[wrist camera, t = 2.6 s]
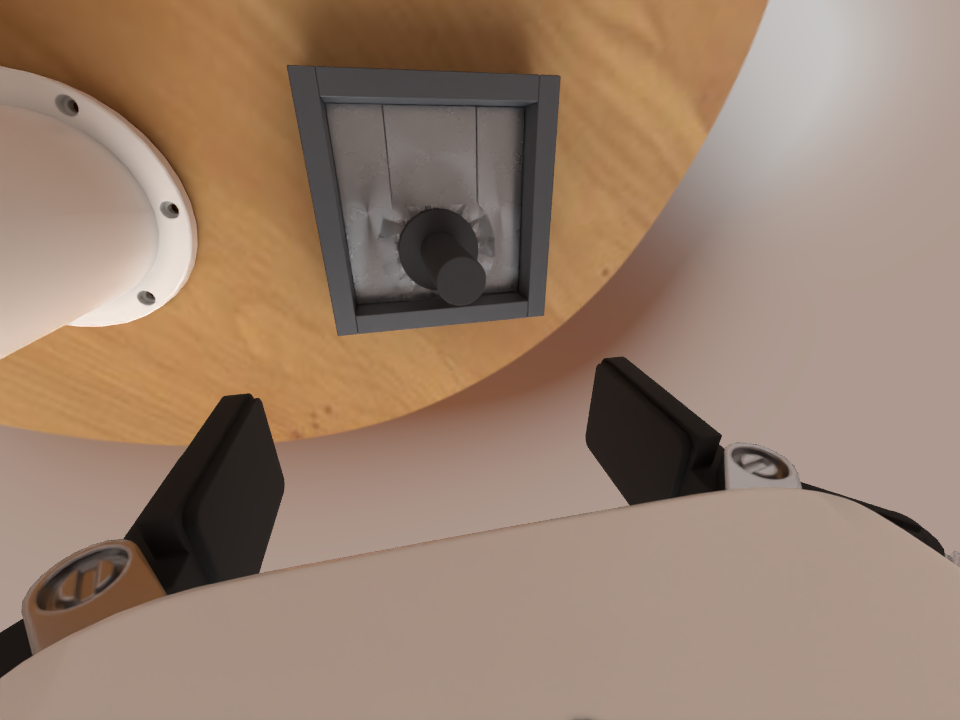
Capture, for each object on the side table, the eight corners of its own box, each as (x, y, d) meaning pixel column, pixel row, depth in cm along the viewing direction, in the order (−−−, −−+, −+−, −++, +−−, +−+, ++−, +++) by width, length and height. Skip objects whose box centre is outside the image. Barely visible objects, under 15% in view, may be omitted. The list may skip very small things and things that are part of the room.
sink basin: (342, 314, 27) (337, 336, 24) (300, 80, 21) (286, 64, 18) (524, 298, 30) (544, 316, 27) (534, 87, 24) (561, 75, 20)
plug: (400, 282, 27) (412, 336, 19) (392, 206, 25) (402, 228, 17) (470, 277, 28) (511, 326, 20) (469, 203, 26) (514, 223, 18)
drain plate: (358, 304, 27) (357, 314, 26) (328, 107, 22) (324, 102, 20) (509, 292, 30) (518, 300, 28) (514, 110, 24) (525, 106, 22)
